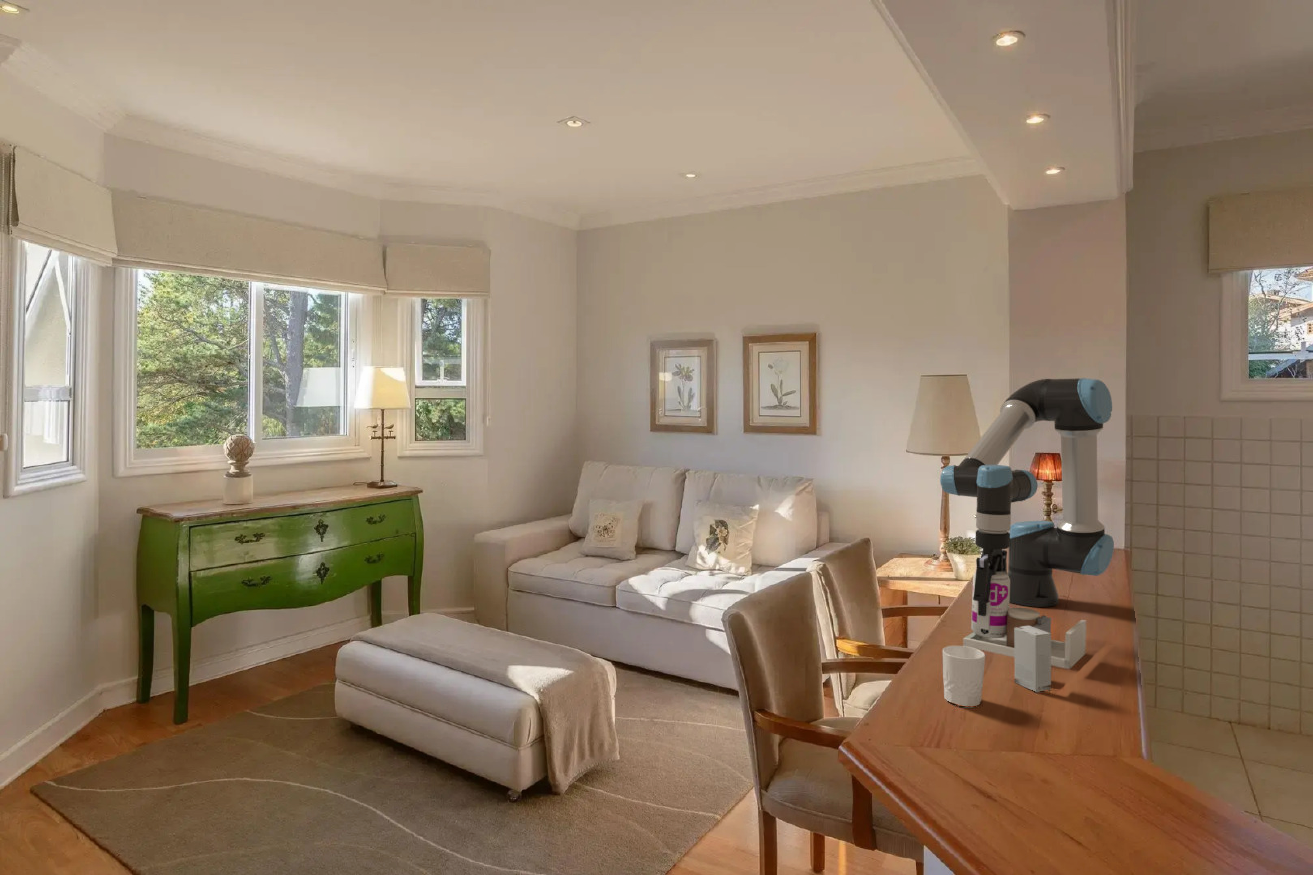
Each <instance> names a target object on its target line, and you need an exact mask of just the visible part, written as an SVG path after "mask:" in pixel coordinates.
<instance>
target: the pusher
mask: <svg viewBox="0 0 1313 875" xmlns="http://www.w3.org/2000/svg"><path fill="white" fill-rule="evenodd" d="M1039 617H1040V618H1038V621H1037V624H1036V625H1035V626H1034V628H1037V629H1040V630H1043V631H1045V632H1048V633H1051V632H1052V631H1051V630H1052V629H1051V628H1052V617H1048V616H1047V615H1040V616H1039ZM1051 634H1052V633H1051Z"/></svg>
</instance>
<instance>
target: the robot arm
mask: <svg viewBox="0 0 1313 875" xmlns="http://www.w3.org/2000/svg"><path fill="white" fill-rule="evenodd" d="M1112 411H1113V402H1112V396H1111V392H1110V390H1109V388H1108V386H1107V385H1106V384H1105V383H1104V382H1103V381H1102V380H1100V379H1095V378H1086V377H1085V378H1084V377H1082V378H1079V377H1078V378H1042V379H1038V380H1037V379H1036V380H1034V381H1031V382H1029V383H1027V384H1025V385H1024V386H1022V387H1020V388H1019V389H1017V390H1016V391H1014V392H1013V393H1012V394H1010V395H1009V397H1007V398H1006V400H1005V401H1004V402H1003V403H1002V404H1001V406H1000V410H999V412H1000V413H999V414H998V415H997V417H996V418H995V419H994V420H993V422H992V423H991V425H990V426H989V427H988V428H987V430H986V431H985V432H984V433H983V434H982V436H981V437H980V438H979V440H978V441H977V442H976V443H975V445H974V446H973V447H972V449H971V450H970V451H969V452H968V454H966V456H965V457H964V458H963V460H962V461H961V462H960V463H959V464H958V465H956V464H953V465H947V466H945V467H944V468H943V469H942V470H941V473H940V477H939V482H940V486H941V489H942V490H943V492H945V494H948V495H956V496H957V497H958V496H959V497H960V496H962V497H970V498H971V497H972V498H976V514H974V518H975V522H976V524H975V527H976V530H975V541H974V542H975V545H976V546H977V547H978V548H980V549H982V554H981V555H980V557H976V559H975V561H976V563H975V564H976V566H975V567H976V569H975V572H976V579H975V589H974V597H973V600H975V601H977V628H981V629H985V630H989V629H990V602H988V601H989V596H990V586H991V578H992V575H995V574H996V571H999V572H1001V571H1005V572H1007V573H1008V576H1009V578H1010V600H1009V604H1010V603H1011V604H1013V605H1014V604H1015V605H1019V606H1027V607H1034V608H1035V607H1037V608H1039V607H1040V608H1045V607H1046V608H1047V607H1053V606H1057V605H1059V593H1058V590H1057V586H1056V583H1055V580H1054V577H1053V570H1058V571H1062V572H1063V571H1064V572H1070V573H1073V574H1079V575H1082V576H1093V577H1094V576H1095V577H1097V576H1101V575H1103V574H1104V573H1105V571H1106V570H1108V568H1109V565H1110V563H1111V561H1112V558H1113V554H1114V549H1115V542H1114V539H1113V537H1112V536H1111V535H1110V534H1107V533H1105V532H1106V531H1105V530H1106V529H1105V528H1106V527H1105V525H1104V523H1102V522H1100V521H1099V499H1098V498H1099V494H1098V493H1099V490H1098V485H1099V484H1098V434H1099V433H1100V432H1101V431H1102V430H1104V424H1106V423H1108V422H1109V421H1110V420H1111V417H1112ZM1042 421H1046V422H1054V430H1055V431H1056V432H1057V433H1058V434H1059V435H1060V449H1061V450H1060V452H1061V453H1060V454H1061V455H1060V456H1061V459H1060V460H1061V491H1062V492H1061V495H1062V496H1061V497H1062V498H1061V499H1062V501H1061V502H1062V519H1061V520H1060V521H1058V523H1057V524H1056V526H1055V523H1054V522H1053V521H1049V520H1028V521H1025V520H1024V521H1018V522H1014V523H1013V524H1011V521H1012V520H1011V518H1012V514H1011V509H1012V508H1011V507H1012V503H1016V502H1017V503H1018V502H1023V501H1026V500H1028V499H1031V498H1032V497H1033V496H1035V494H1036V492H1037V491H1038V487H1039V486H1038V484H1039V483H1038V479H1037V478H1036V476H1035V475H1034V474H1033V473H1032V472H1030V471H1028V470H1027V469H1026V470H1025V469H1014V470H1012V468H1011V467H1010V466H1009V465H1004V464H1003V465H1002V464H1000V462H1001V461H1002V460H1003V458H1004V457H1005V456H1006V455H1007V453H1008V452H1009V450H1010V449H1011V448H1012V446H1013V445H1014V444H1015V443H1016V441H1017V440H1018V439H1019V437H1020V436H1021V435H1022V433H1023V432H1024V431H1025V430H1027V429H1029V428H1032V426H1034V424H1035V423H1037V422H1042ZM1007 549H1008V551H1007ZM1007 557H1008V564H1007Z"/></svg>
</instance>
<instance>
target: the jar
mask: <svg viewBox="0 0 1313 875" xmlns="http://www.w3.org/2000/svg"><path fill="white" fill-rule="evenodd" d="M1040 617H1041V614H1040V612H1039V611H1037V610H1034V609H1032V608H1031V609H1030V608H1024V607H1011V608H1010V607H1009V610H1008V614H1007V635H1006V646H1007V647H1012V648H1015V644H1014V628H1016V627H1022V626H1031V627H1034V626H1035V625H1036V624H1037V621H1038V618H1040Z"/></svg>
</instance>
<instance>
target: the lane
mask: <svg viewBox="0 0 1313 875" xmlns="http://www.w3.org/2000/svg"><path fill="white" fill-rule="evenodd" d="M1064 635H1065V636H1064V637H1065V639H1064V641H1060V640H1056V639H1051V667H1057V668H1062V669H1066V670H1071V668H1073V666H1075V665H1076V663H1078V662H1079V660H1080V659H1082V658H1083V657H1084V656H1085V655H1086V640H1087V637H1086V636H1087V620H1084V619H1081V620H1080V621H1078V622H1077V623H1076V624H1074V626H1072V627H1071V628H1070V629H1068V631H1066V632H1065V634H1064ZM962 646H967V647H972V648H976V649H978V650H981V651H985V652H989V653H992V654H998V655H1002V656H1006V657H1012V658H1015V648H1012V647H1007V646H1006V635H1005V637H1002V638H988V637H983V636H979V635H977V634H975V633H974V631H972V632H971V633H970V634H968V635H966V636H965V637H963V639H962Z"/></svg>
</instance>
